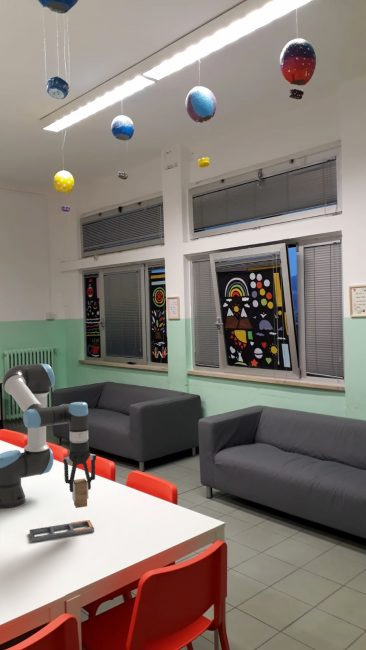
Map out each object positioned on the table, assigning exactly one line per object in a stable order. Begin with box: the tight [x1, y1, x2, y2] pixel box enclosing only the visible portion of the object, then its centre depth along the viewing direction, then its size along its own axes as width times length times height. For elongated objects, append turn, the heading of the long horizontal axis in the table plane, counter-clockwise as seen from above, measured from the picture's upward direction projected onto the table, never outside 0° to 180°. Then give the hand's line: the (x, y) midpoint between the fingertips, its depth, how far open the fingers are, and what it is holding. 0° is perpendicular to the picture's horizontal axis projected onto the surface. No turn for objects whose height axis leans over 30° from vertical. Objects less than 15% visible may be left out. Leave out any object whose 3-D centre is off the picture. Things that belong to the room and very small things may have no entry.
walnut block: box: [73, 477, 88, 509], centre depth 205 cm, size 4×4×10 cm
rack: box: [29, 519, 95, 543], centre depth 202 cm, size 9×24×2 cm, turn 112°
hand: (80, 498), depth 205 cm, fingers closed on walnut block, 4 cm apart
